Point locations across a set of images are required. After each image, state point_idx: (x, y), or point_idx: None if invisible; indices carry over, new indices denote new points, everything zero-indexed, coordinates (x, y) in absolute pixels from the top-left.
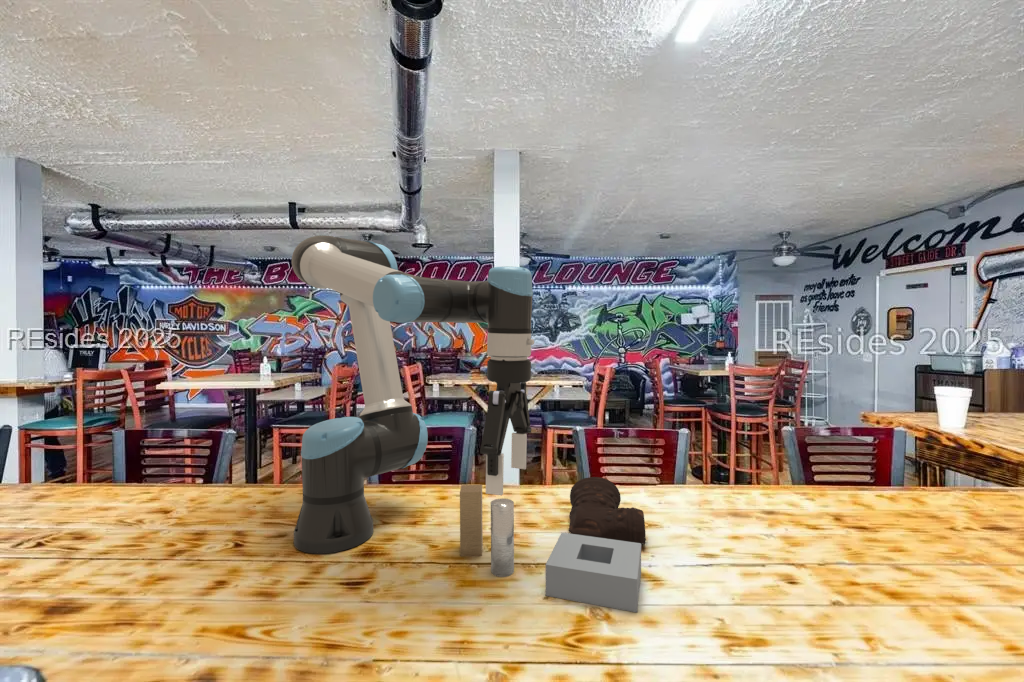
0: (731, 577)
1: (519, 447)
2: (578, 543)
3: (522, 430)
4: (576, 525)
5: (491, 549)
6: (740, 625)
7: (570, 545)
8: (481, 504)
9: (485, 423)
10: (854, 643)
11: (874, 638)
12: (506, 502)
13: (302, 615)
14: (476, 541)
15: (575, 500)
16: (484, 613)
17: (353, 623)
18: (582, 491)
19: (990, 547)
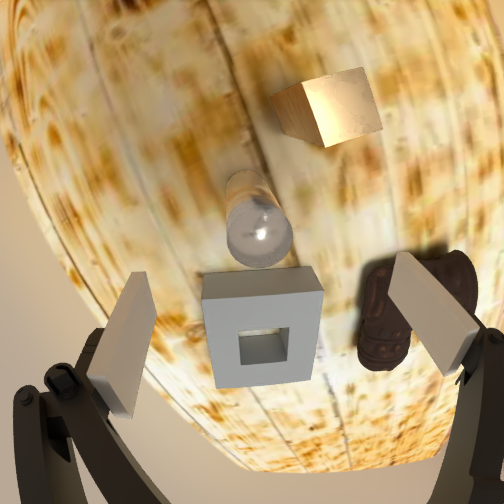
0: (310, 406)
1: (427, 322)
2: (289, 322)
3: (469, 368)
4: (379, 285)
5: (234, 184)
6: (234, 412)
7: (278, 314)
8: (313, 143)
9: (22, 499)
10: (241, 445)
11: (251, 449)
12: (265, 248)
13: (50, 10)
14: (286, 126)
15: (438, 278)
16: (129, 213)
17: (51, 71)
18: (451, 292)
19: (370, 465)
